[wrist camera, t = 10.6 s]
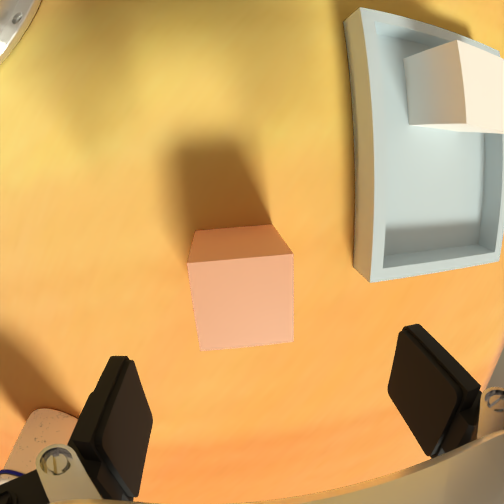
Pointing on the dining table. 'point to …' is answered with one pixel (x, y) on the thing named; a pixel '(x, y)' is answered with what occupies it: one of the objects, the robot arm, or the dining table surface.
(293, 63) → the dining table surface
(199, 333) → the terracotta block
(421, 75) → the white block
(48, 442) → the teacup with lid
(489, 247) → the tray
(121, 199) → the dining table surface
